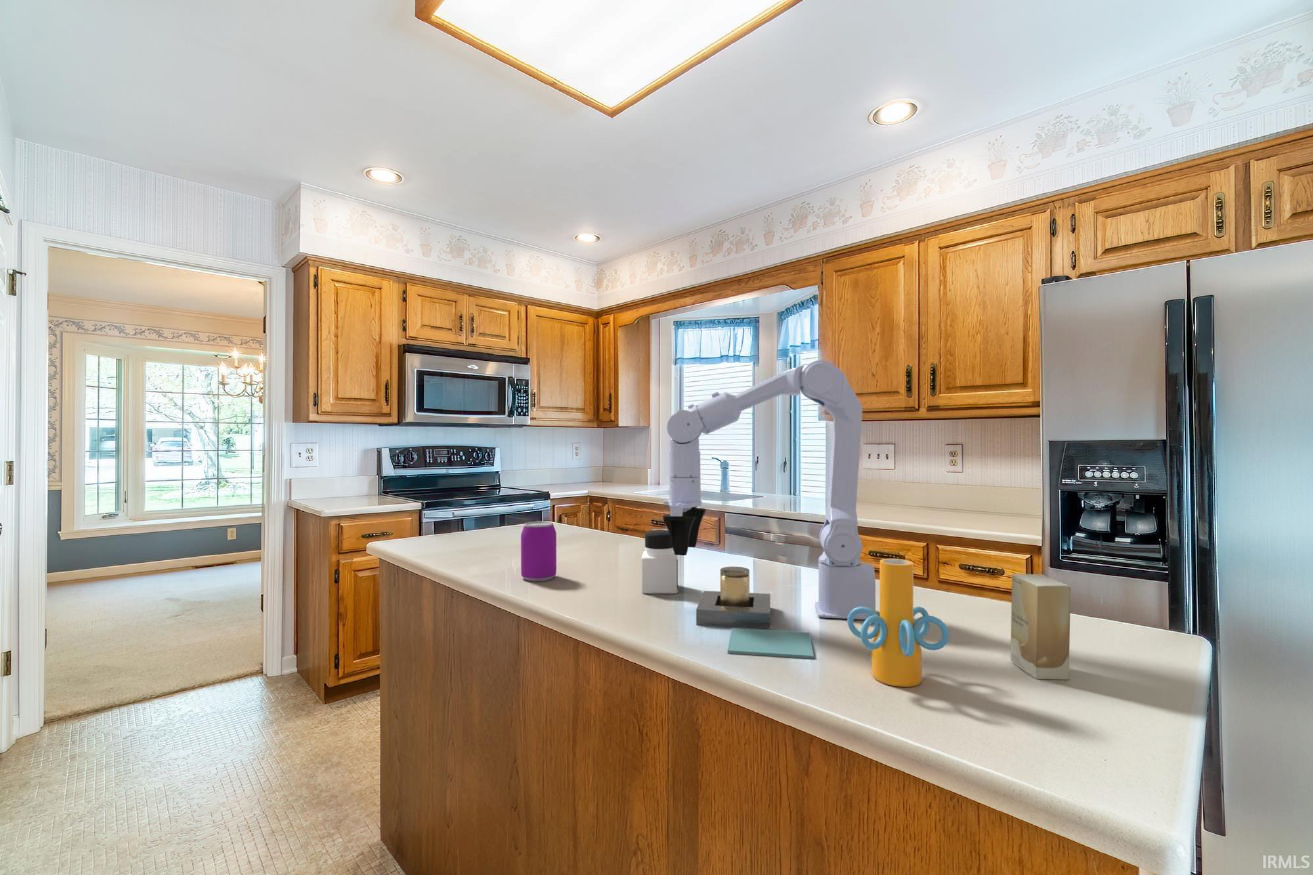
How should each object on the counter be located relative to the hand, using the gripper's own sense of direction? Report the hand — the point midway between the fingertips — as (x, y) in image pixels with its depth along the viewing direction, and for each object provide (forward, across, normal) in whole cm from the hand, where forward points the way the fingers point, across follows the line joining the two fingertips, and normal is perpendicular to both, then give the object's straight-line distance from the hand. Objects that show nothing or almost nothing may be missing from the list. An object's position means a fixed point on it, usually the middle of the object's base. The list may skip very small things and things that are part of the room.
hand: (685, 550), depth 110 cm
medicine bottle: (+10, -10, -8) cm, 16 cm away
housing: (+10, +4, +10) cm, 14 cm away
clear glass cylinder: (+10, +4, +10) cm, 14 cm away
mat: (+10, +16, +17) cm, 25 cm away
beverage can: (+10, -12, -36) cm, 39 cm away
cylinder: (+10, +25, +34) cm, 43 cm away
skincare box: (+10, +18, +52) cm, 56 cm away
